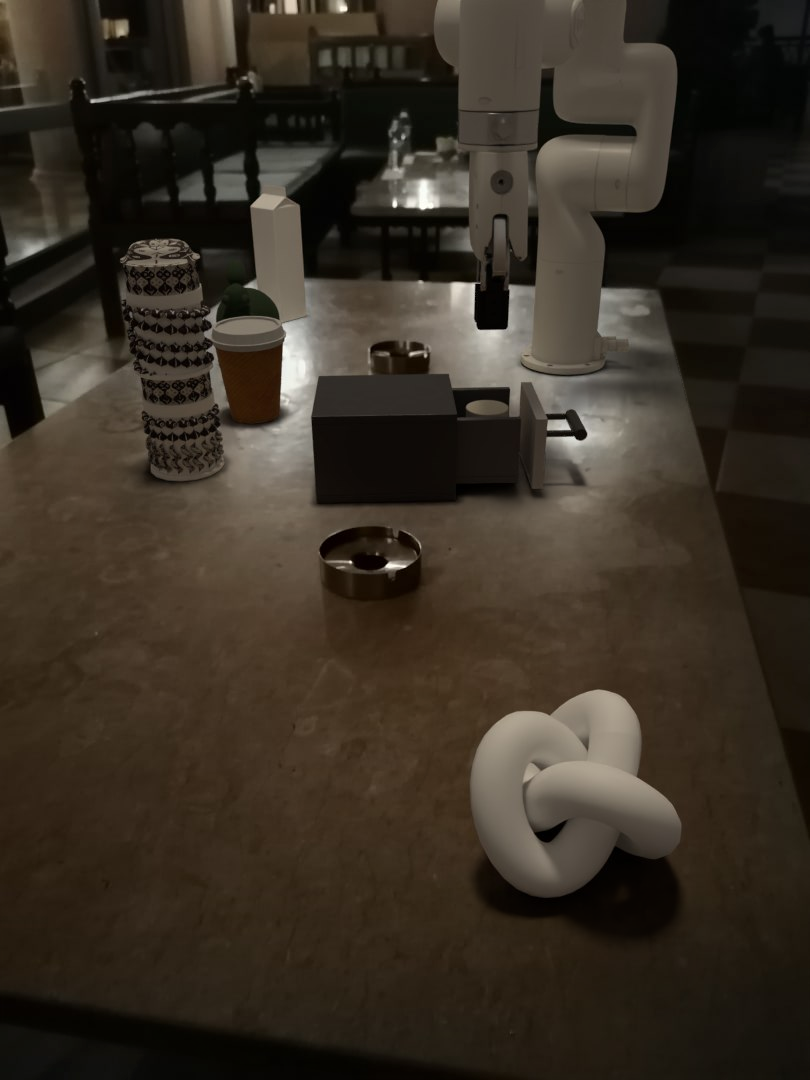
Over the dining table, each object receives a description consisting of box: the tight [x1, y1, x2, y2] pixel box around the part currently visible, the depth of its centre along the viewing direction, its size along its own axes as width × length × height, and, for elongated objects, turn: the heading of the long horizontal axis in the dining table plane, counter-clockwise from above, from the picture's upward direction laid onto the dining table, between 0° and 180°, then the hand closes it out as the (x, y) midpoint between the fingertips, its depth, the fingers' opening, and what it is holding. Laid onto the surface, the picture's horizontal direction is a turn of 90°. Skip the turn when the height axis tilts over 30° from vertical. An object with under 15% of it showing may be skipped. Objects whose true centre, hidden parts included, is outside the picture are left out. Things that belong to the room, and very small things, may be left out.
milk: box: [249, 184, 307, 324], centre depth 157 cm, size 6×6×22 cm
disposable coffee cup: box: [209, 316, 287, 425], centre depth 116 cm, size 10×10×12 cm
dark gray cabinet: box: [310, 373, 457, 504], centre depth 99 cm, size 15×13×10 cm
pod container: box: [466, 400, 510, 417], centre depth 100 cm, size 5×5×6 cm
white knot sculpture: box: [469, 688, 682, 899], centre depth 53 cm, size 11×12×9 cm
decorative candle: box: [119, 238, 225, 482], centre depth 99 cm, size 9×9×25 cm
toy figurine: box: [215, 259, 280, 323], centre depth 131 cm, size 9×19×25 cm
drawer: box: [452, 381, 588, 490], centre depth 100 cm, size 18×12×8 cm, turn 91°
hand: (490, 324), depth 94 cm, fingers closed
